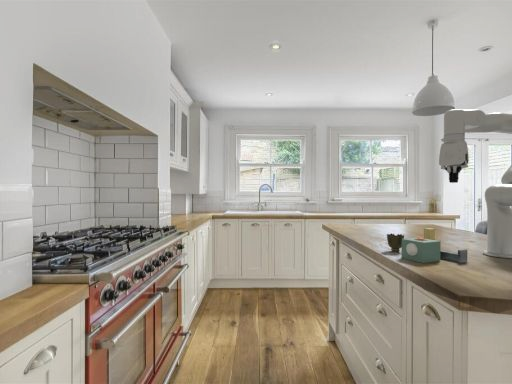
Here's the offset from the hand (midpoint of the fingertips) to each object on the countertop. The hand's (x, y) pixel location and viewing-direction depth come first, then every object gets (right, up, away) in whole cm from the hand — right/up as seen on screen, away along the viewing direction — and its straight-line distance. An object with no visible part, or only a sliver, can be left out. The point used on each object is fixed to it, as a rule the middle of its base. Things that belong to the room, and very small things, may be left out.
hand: (453, 182), depth 127 cm
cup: (-19, -32, +13) cm, 39 cm away
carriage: (-8, -32, +5) cm, 33 cm away
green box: (-16, -32, -4) cm, 36 cm away
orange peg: (-16, -31, -4) cm, 35 cm away
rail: (-6, -32, 0) cm, 33 cm away
